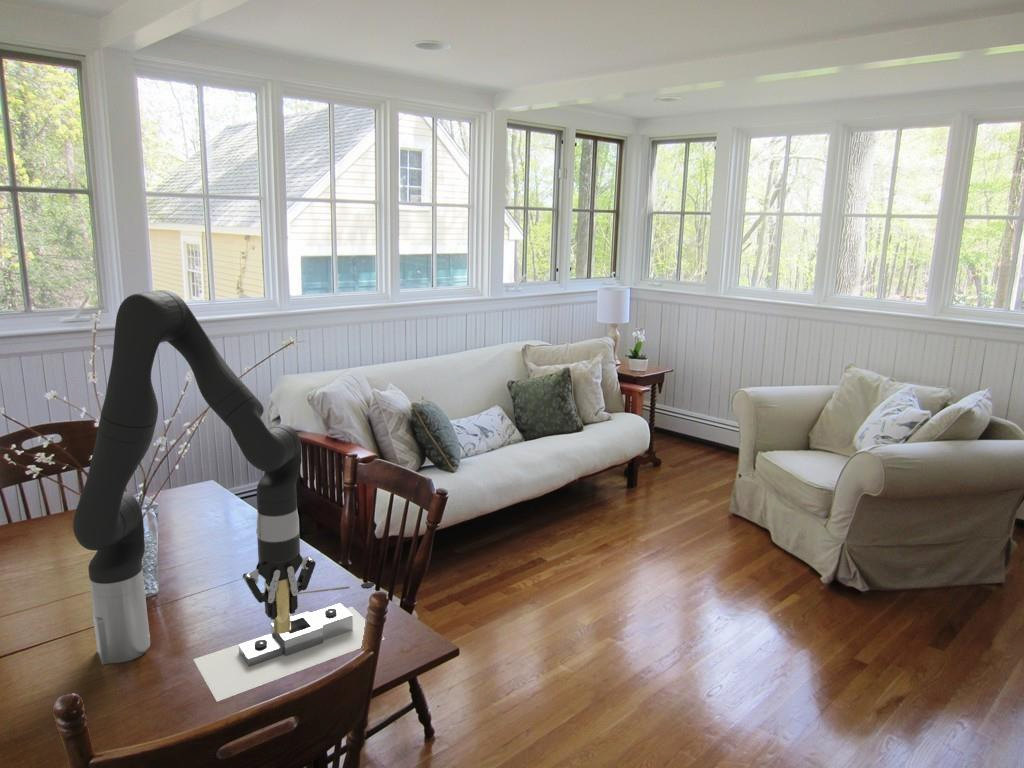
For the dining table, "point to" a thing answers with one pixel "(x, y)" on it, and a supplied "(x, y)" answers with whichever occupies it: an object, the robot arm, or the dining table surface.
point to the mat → (272, 662)
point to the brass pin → (282, 608)
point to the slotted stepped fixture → (298, 634)
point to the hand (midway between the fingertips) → (281, 614)
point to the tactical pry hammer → (364, 585)
